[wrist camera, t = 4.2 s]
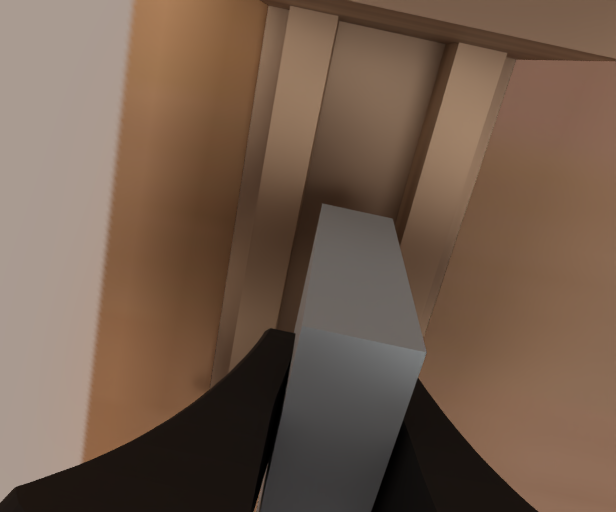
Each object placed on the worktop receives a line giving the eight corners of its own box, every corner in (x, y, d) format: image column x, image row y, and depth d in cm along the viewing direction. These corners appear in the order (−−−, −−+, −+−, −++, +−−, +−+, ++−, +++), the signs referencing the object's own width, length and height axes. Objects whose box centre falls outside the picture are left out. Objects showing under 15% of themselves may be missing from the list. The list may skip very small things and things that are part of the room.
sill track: (385, 432, 20) (404, 606, 14) (211, 396, 20) (149, 554, 14) (532, -17, 14) (685, -77, 8) (284, -71, 14) (233, -177, 8)
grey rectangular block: (332, 432, 15) (323, 648, 10) (274, 419, 15) (232, 630, 10) (392, 218, 13) (426, 352, 7) (322, 203, 13) (301, 326, 7)
